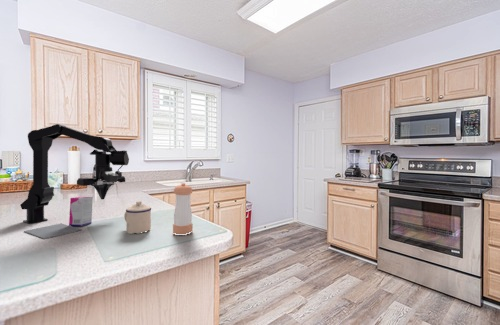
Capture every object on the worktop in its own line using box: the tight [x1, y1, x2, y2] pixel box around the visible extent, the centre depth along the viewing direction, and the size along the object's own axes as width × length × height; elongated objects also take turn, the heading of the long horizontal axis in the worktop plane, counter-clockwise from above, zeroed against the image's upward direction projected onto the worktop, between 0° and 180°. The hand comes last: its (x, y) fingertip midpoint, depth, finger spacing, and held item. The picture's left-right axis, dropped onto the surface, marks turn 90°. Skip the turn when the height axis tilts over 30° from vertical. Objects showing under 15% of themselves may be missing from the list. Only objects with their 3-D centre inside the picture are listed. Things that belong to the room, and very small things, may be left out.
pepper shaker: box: [172, 183, 193, 234], centre depth 91 cm, size 7×7×19 cm
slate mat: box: [23, 223, 83, 240], centre depth 91 cm, size 16×12×1 cm
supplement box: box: [68, 196, 94, 227], centre depth 100 cm, size 6×6×12 cm
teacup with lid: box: [123, 200, 152, 234], centre depth 94 cm, size 12×9×12 cm
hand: (102, 199), depth 108 cm, fingers closed
